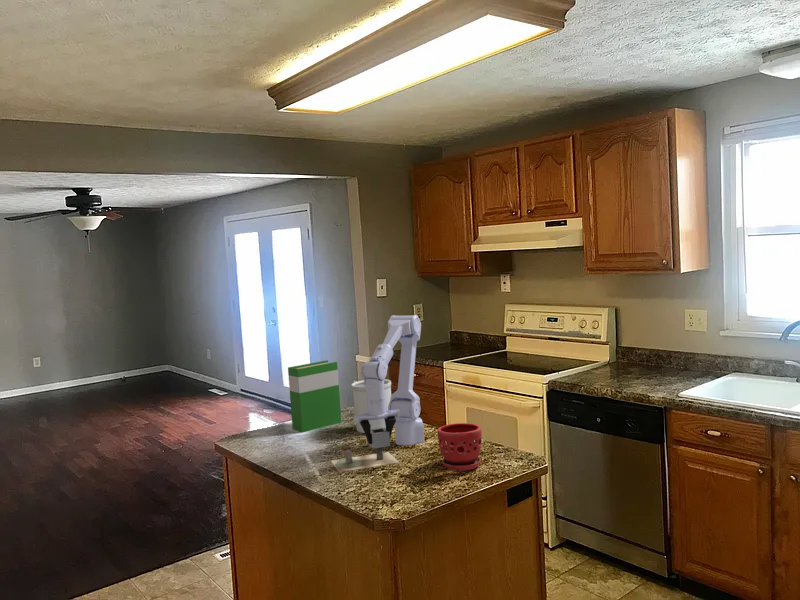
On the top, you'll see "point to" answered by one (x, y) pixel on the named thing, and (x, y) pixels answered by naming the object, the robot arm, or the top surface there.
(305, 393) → the hardback book
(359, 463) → the board
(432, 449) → the top surface
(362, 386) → the utensil holder
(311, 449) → the top surface
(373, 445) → the steel collar
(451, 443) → the plant pot
